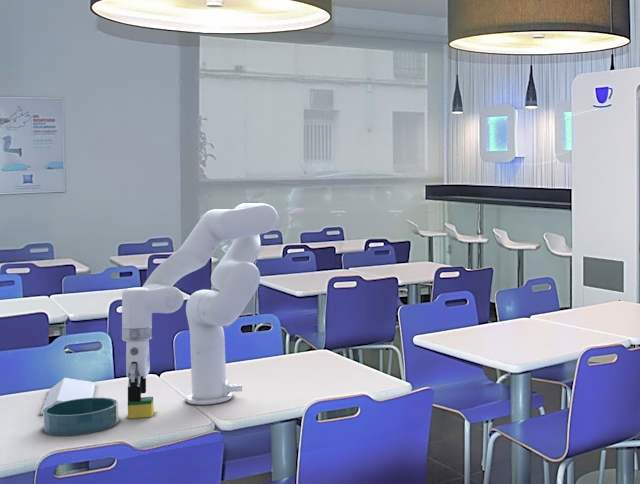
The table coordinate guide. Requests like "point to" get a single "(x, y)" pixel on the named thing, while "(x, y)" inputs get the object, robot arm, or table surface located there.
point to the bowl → (80, 416)
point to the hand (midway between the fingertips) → (137, 397)
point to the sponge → (141, 408)
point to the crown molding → (69, 391)
